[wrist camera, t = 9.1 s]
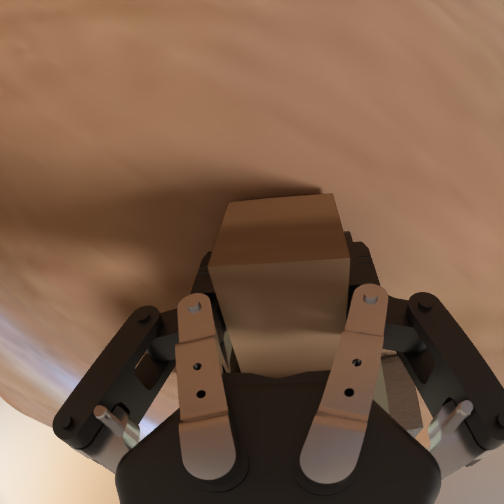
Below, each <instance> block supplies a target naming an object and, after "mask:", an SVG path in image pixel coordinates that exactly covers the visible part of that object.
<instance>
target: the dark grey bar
mask: <svg viewBox="0 0 504 504" xmlns="http://www.w3.org/2000/svg"><path fill="white" fill-rule="evenodd" d="M381 364H382V369H383V375H384V381H385V387H386V393H387V400H388V406H389V413H390V416H391V417H392V418H393V419H394V420H396V421H397V422H398V423H399V424H400V425H401V426H402V427H403V428H404V429H405V430H406V431H407V432H408V433H409V434H410V435H411V436H413V437H414V438H415V437H416V436H417V434H418V433H419V432H420V431H421V430H422V428H423V423H422V418H421V412H420V407H419V402H418V397H417V392H416V388H415V384H414V382H413V380H412V378H411V377H410V375H409V373H408V371H407V370H406V368H405V366H404V365H403V363H402V361H401V359H400V358H399V356H398V355H396V356H388V357H381Z"/></svg>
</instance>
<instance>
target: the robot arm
mask: <svg viewBox="0 0 504 504" xmlns="http://www.w3.org/2000/svg"><path fill="white" fill-rule="evenodd" d="M344 236H345V240H346V243H347V247H348V251H349V255H350V271H349V287H348V301H347V313H346V324H345V329H344V330H343V331H342V334H341V337H340V341H339V344H338V348H337V351H336V355H335V358H334V362H333V365H332V368H331V370H324V371H307V372H303V373H299V374H295V375H291V376H287V377H283V378H278V379H277V378H271V377H267V376H262V375H257V374H253V373H231V370H230V365H229V361H228V356H227V351H226V346H225V342H224V334H225V331H227V328H226V325H225V322H224V319H223V316H222V312H221V309H220V306H219V303H218V300H217V296H216V293H215V290H214V287H213V284H212V280H211V277H210V274H209V270H208V264H209V261H210V258H211V255H212V252H208V253H207V254H206V255H205V257H204V258H203V259H202V261H201V264H200V268H199V270H198V274H197V276H196V279H195V282H194V285H193V288H192V291H191V294H190V295H188V296H186V297H184V298H183V299H182V300H181V301H180V302H179V304H178V307H177V308H176V309H174V310H170V311H167V312H163V313H159V311H158V309H157V308H155V307H153V306H144V307H141V308H139V309H137V310H135V311H134V312H133V313H132V314H131V316H130V317H129V318H128V319H127V321H126V322H125V323H124V324H123V326H122V327H121V328H120V330H119V331H118V332H117V333H116V335H115V336H114V337H113V339H112V340H111V341H110V342H109V344H108V345H107V346H106V348H105V349H104V350H103V351H102V353H101V354H100V355H99V357H98V358H97V359H96V361H95V362H94V363H93V365H92V366H91V367H90V369H89V370H88V371H87V373H86V374H85V375H84V377H83V378H82V379H81V381H80V382H79V383H78V385H77V386H76V388H75V389H74V390H73V392H72V393H71V394H70V396H69V397H68V399H67V400H66V401H65V403H64V404H63V406H62V407H61V408H60V410H59V411H58V413H57V414H56V416H55V417H54V420H53V431H54V433H55V435H56V436H57V437H58V438H60V439H61V440H63V441H64V442H66V443H67V444H68V445H69V446H70V447H71V448H73V449H74V450H76V451H77V452H79V453H80V454H82V455H84V456H85V457H87V458H89V459H92V460H93V461H95V462H97V463H98V464H100V465H102V466H104V467H105V468H107V469H108V470H110V471H111V472H113V473H114V474H115V484H116V488H117V492H118V495H119V500H120V504H434V503H435V500H436V498H437V496H438V494H439V491H440V487H441V480H443V479H444V478H446V477H448V476H449V475H451V474H453V473H454V472H456V471H458V470H459V469H461V468H462V467H464V466H465V467H468V466H472V465H474V464H475V463H477V462H478V461H480V460H481V459H483V458H484V457H486V456H487V455H488V454H490V453H491V452H493V451H494V450H495V449H497V448H498V447H499V446H501V445H502V444H503V443H504V388H503V387H502V385H501V384H500V382H499V381H498V379H497V378H496V376H495V375H494V373H493V372H492V370H491V369H490V367H489V366H488V364H487V363H486V362H485V360H484V359H483V357H482V356H481V354H480V353H479V352H478V350H477V349H476V347H475V346H474V345H473V343H472V342H471V341H470V339H469V338H468V336H467V335H466V334H465V332H464V331H463V330H462V328H461V327H460V326H459V325H458V323H457V322H456V321H455V319H454V318H453V317H452V315H451V314H450V313H449V312H448V310H447V309H446V308H445V307H444V305H443V304H442V303H441V302H440V300H439V299H438V298H437V297H436V296H434V295H432V294H430V293H426V292H419V293H415V294H414V295H412V296H411V297H410V299H409V300H403V299H397V298H393V297H391V296H389V295H388V293H387V292H386V290H385V289H384V288H382V287H381V286H380V283H379V280H378V277H377V273H376V270H375V267H374V264H373V261H372V258H371V255H370V252H369V249H368V247H367V246H366V245H365V244H364V243H363V242H353V241H352V237H351V234H350V232H349V231H347V232H344ZM382 349H387V350H393V351H396V352H397V354H398V356H399V358H400V359H401V361H402V363H403V365H404V366H405V368H406V370H407V371H408V373H409V375H410V377H411V378H412V380H413V382H414V384H415V386H416V387H417V389H418V391H419V393H420V394H421V396H422V398H423V400H424V402H425V404H426V405H427V407H428V409H429V411H430V413H431V415H432V417H433V420H432V421H431V423H430V425H429V428H428V434H429V438H430V442H431V447H430V451H428V450H427V449H425V448H424V447H423V446H422V445H421V444H420V443H419V442H418V441H417V440H416V439H415V438H414V437H413V436H411V435H410V434H409V433H408V432H407V431H406V430H405V429H404V428H403V427H402V426H401V425H400V424H399V423H398V422H397V421H396V420H394V419H393V418H392V417H391V416H390V415H389V414H388V413H387V412H386V411H385V410H384V409H383V408H382V407H381V406H380V405H379V404H378V403H377V402H376V401H374V400H373V395H374V391H375V386H376V381H377V376H378V371H379V365H380V360H381V354H382ZM145 352H147V353H146V354H145V356H144V357H143V359H142V360H141V362H140V363H139V364H138V366H137V367H136V365H137V363H138V362H139V360H140V359H141V357H142V356H143V355H144V353H145ZM175 365H176V371H177V384H178V396H179V406H180V408H178V409H177V410H176V411H175V412H174V413H173V414H172V415H170V416H169V417H168V418H167V419H166V420H165V421H164V422H162V423H161V424H160V425H159V426H158V427H157V428H155V429H154V430H153V431H152V432H151V433H150V434H148V435H147V436H146V437H145V438H144V439H142V440H141V441H140V439H139V435H140V428H139V425H138V424H139V423H140V421H141V420H142V418H143V416H144V415H145V413H146V412H147V410H148V408H149V407H150V405H151V404H152V402H153V400H154V399H155V397H156V396H157V394H158V392H159V391H160V389H161V388H162V386H163V384H164V383H165V381H166V380H167V378H168V376H169V375H170V373H171V372H172V370H173V368H174V367H175ZM135 367H136V369H135ZM139 441H140V442H139Z"/></svg>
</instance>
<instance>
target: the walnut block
mask: <svg viewBox="0 0 504 504" xmlns="http://www.w3.org/2000/svg"><path fill="white" fill-rule="evenodd" d="M208 270H209V274H210V277H211V280H212V284H213V287H214V290H215V293H216V296H217V300H218V303H219V306H220V309H221V312H222V316H223V319H224V322H225V325H226V328H227V331H228V334H229V337H230V340H231V343H232V346H233V349H234V352H235V355H236V358H237V361H238V364H239V367H240V370H241V373H253V374H257V375H262V376H267V377H271V378H277V379H278V378H283V377H287V376H291V375H295V374H299V373H303V372H307V371H324V370H331V368H332V365H333V362H334V358H335V355H336V351H337V348H338V344H339V341H340V337H341V334H342V331H343V330H344V329H345V324H346V313H347V301H348V287H349V271H350V255H349V251H348V247H347V243H346V240H345V236H344V232H343V228H342V225H341V221H340V217H339V214H338V210H337V207H336V203H335V200H334V196H333V194H318V195H303V196H290V197H278V198H266V199H255V200H244V201H234V202H229V203H228V206H227V209H226V212H225V215H224V218H223V221H222V224H221V227H220V230H219V233H218V236H217V239H216V242H215V245H214V248H213V251H212V255H211V258H210V261H209V264H208Z"/></svg>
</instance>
